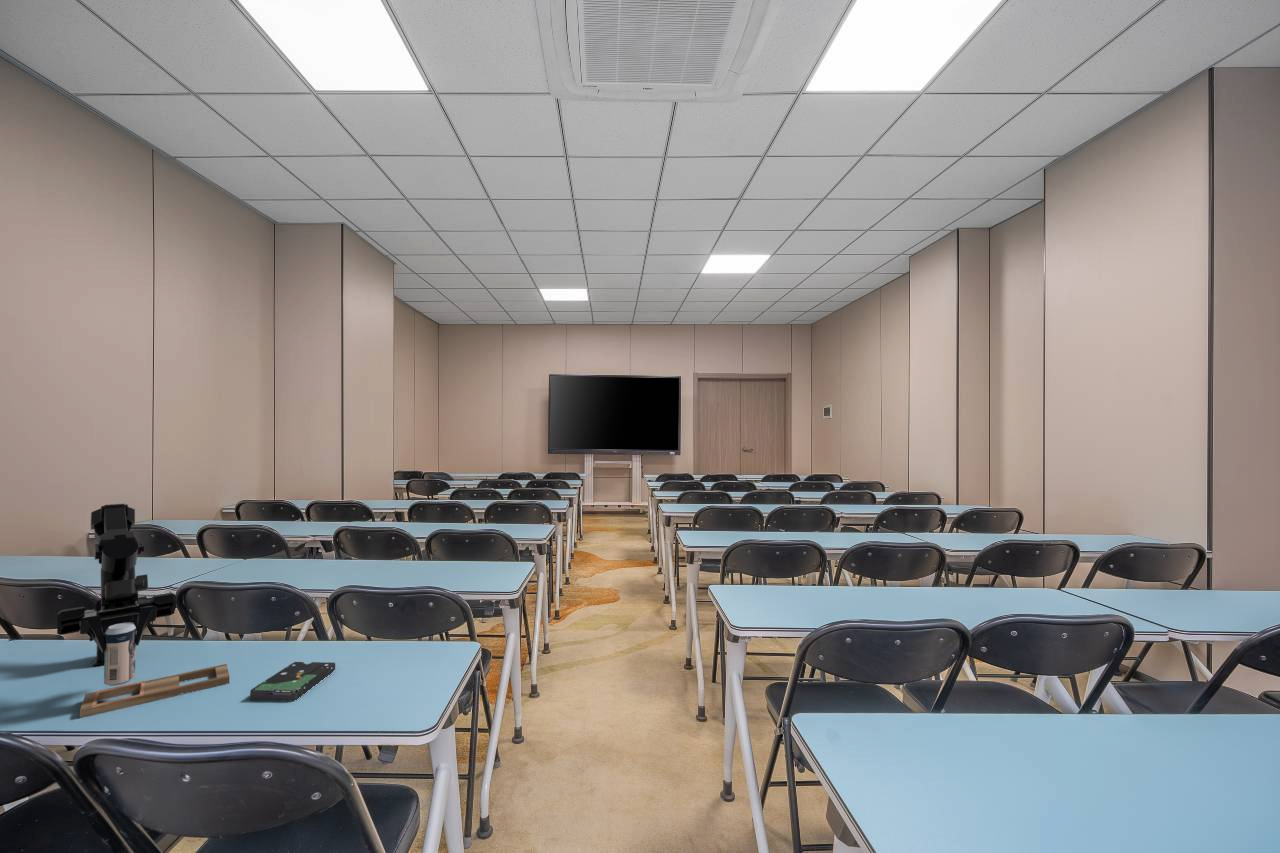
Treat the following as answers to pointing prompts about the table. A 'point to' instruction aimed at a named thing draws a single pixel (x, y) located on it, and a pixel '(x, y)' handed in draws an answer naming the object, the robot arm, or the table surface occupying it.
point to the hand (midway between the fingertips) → (120, 647)
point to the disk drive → (292, 681)
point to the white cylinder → (120, 654)
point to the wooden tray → (152, 690)
